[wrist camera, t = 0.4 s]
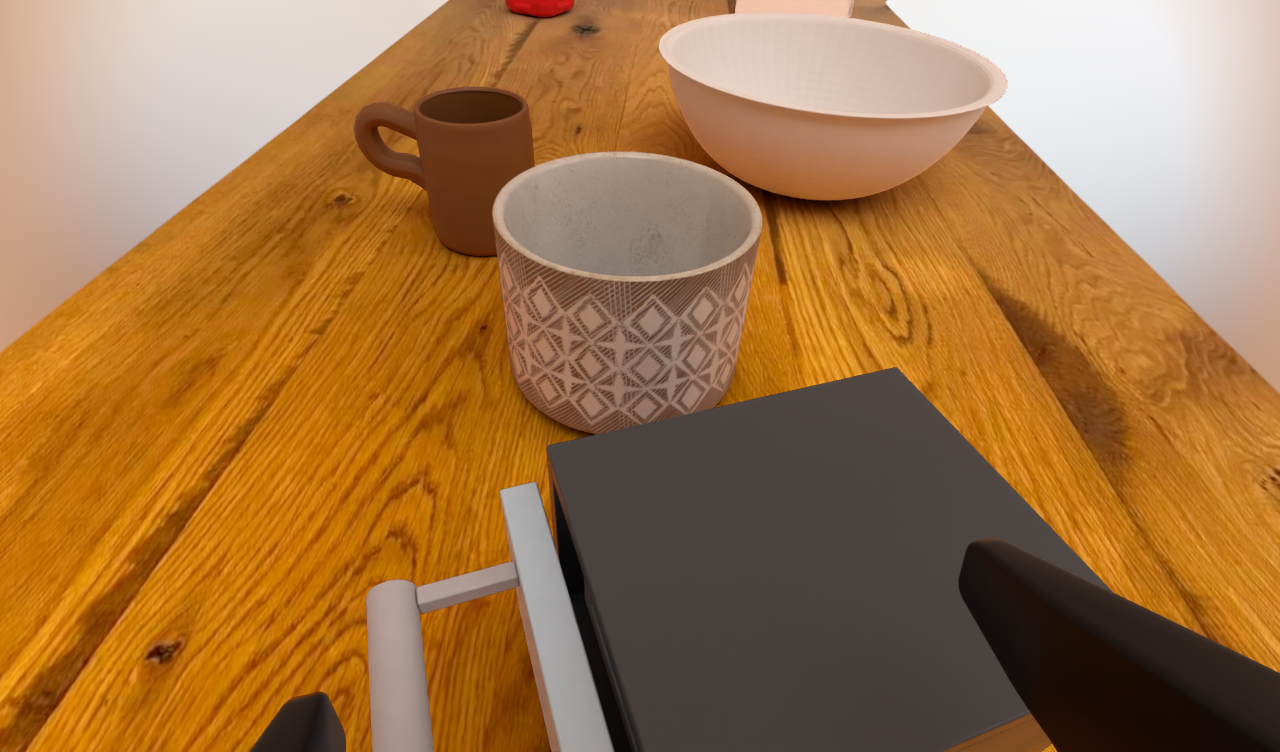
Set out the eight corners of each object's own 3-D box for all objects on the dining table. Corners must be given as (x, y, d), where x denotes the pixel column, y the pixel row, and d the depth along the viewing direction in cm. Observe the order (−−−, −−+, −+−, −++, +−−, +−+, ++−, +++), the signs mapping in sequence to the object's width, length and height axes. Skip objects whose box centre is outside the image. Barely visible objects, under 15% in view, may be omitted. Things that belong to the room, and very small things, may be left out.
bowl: (979, 277, 47) (1043, 141, 40) (617, 218, 51) (619, 86, 44) (941, 137, 66) (979, 31, 60) (683, 104, 70) (692, 0, 64)
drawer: (435, 1001, 17) (368, 966, 12) (404, 637, 24) (355, 523, 19) (950, 772, 22) (1053, 679, 17) (795, 524, 29) (836, 408, 24)
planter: (776, 402, 36) (819, 237, 29) (570, 487, 31) (562, 312, 24) (660, 287, 44) (671, 136, 37) (481, 339, 39) (455, 176, 32)
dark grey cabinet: (653, 937, 19) (679, 864, 13) (557, 591, 27) (545, 445, 21) (1017, 770, 22) (1172, 651, 16) (837, 510, 31) (896, 366, 24)
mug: (360, 253, 45) (322, 118, 39) (395, 203, 51) (367, 78, 45) (530, 262, 45) (518, 129, 39) (546, 211, 51) (538, 88, 45)
